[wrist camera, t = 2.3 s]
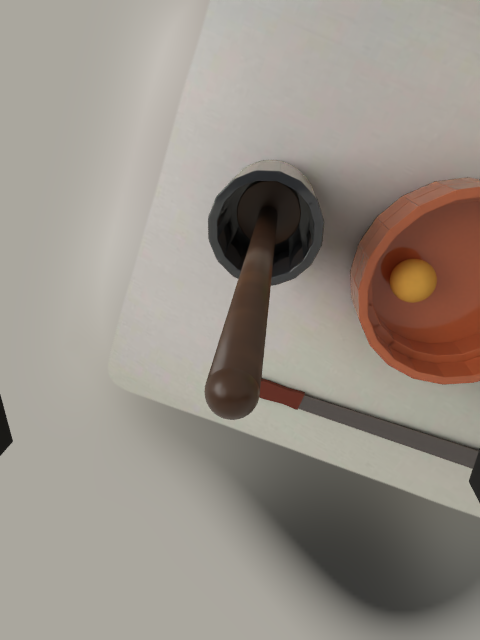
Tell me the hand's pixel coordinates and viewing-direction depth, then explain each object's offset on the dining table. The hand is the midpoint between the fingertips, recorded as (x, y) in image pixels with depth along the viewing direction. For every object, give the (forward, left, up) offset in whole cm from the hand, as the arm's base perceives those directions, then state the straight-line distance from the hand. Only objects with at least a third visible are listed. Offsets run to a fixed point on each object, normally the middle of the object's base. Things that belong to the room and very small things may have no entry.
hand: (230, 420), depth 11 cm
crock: (0, 0, -32) cm, 32 cm away
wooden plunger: (0, 0, -31) cm, 31 cm away
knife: (+27, -7, -32) cm, 42 cm away
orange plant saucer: (+16, +8, -32) cm, 36 cm away
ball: (+13, +6, -29) cm, 32 cm away
